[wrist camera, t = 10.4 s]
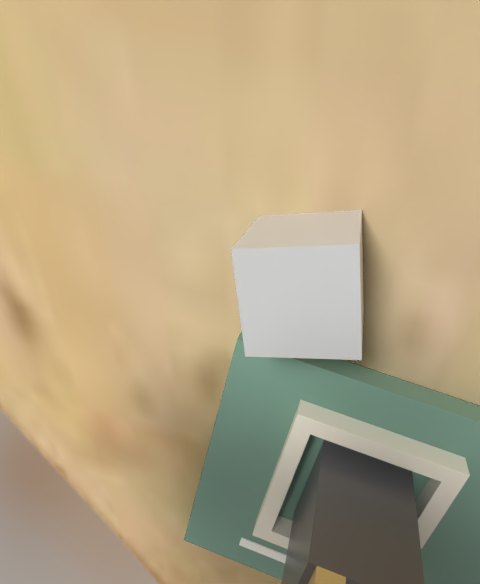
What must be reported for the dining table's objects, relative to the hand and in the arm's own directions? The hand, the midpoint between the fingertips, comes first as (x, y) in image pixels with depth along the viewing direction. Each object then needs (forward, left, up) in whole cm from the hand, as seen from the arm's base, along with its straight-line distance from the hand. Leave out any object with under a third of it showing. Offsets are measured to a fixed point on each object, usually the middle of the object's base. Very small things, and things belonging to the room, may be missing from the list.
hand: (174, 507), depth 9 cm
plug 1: (-1, -1, -12) cm, 12 cm away
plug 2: (-6, +9, -11) cm, 15 cm away
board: (-7, +10, -12) cm, 17 cm away
